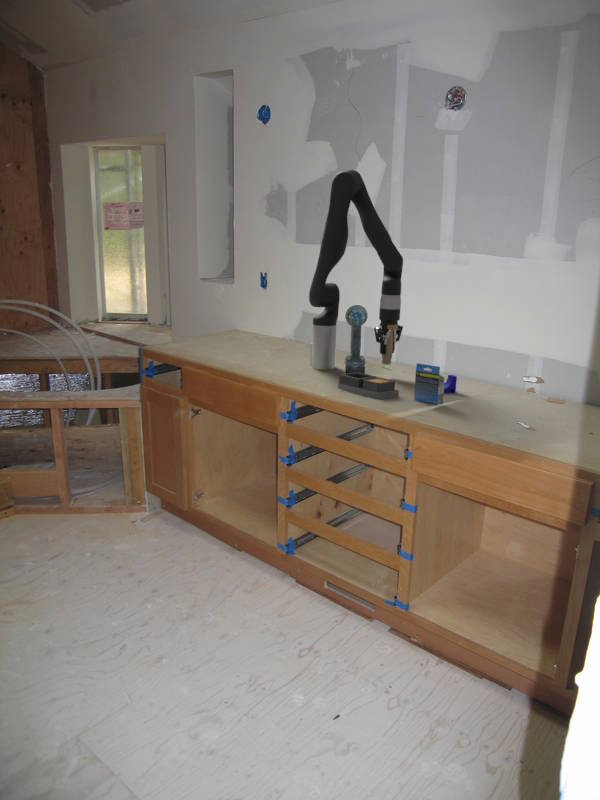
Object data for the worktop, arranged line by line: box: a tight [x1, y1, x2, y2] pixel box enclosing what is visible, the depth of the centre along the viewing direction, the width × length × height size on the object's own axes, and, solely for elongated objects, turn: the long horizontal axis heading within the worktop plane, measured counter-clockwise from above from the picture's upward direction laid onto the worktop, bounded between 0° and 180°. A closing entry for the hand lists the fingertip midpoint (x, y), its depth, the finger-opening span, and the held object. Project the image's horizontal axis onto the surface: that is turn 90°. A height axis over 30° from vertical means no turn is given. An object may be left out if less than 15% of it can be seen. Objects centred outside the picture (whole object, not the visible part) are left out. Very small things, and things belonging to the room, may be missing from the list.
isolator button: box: [368, 379, 389, 383], centre depth 213 cm, size 6×6×2 cm
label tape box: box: [413, 362, 445, 405], centre depth 205 cm, size 9×4×12 cm, turn 48°
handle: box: [381, 324, 399, 365], centre depth 236 cm, size 5×6×15 cm
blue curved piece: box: [444, 374, 458, 394], centre depth 219 cm, size 12×4×6 cm, turn 110°
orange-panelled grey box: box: [337, 371, 400, 400], centre depth 217 cm, size 20×9×5 cm, turn 40°
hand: (387, 353), depth 237 cm, fingers closed on handle, 4 cm apart
